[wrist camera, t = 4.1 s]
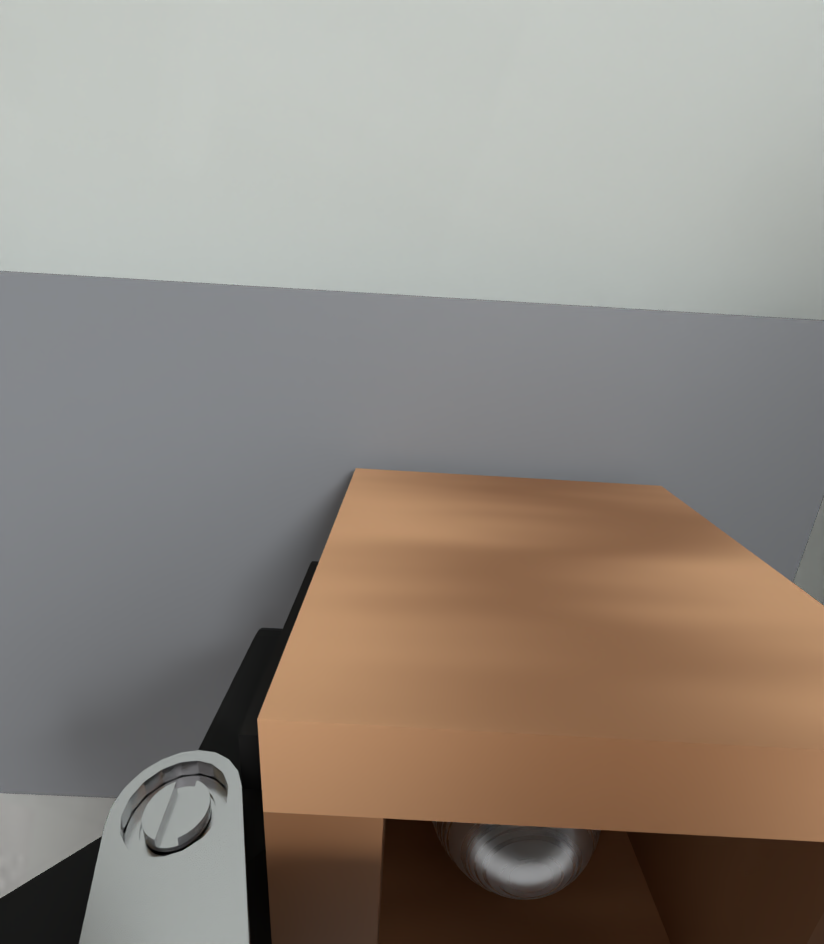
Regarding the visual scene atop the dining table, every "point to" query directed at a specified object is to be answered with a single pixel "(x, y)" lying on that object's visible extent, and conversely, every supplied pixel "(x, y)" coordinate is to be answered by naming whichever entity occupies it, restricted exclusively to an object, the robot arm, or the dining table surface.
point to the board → (320, 468)
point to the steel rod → (518, 856)
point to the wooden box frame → (544, 720)
